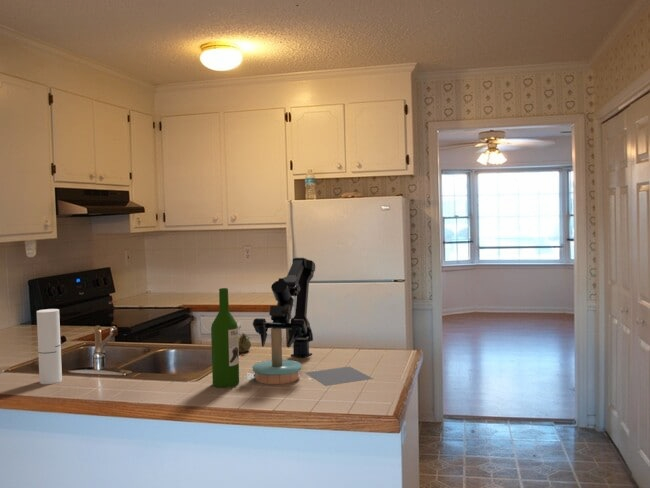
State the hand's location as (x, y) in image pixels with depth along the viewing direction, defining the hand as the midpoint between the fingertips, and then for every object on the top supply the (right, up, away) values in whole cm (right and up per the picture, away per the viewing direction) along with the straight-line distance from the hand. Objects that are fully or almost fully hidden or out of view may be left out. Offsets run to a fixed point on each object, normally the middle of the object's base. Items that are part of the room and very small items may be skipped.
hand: (275, 346), depth 203 cm
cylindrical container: (-79, -13, +3) cm, 80 cm away
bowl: (0, -11, +2) cm, 12 cm away
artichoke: (-17, -10, +44) cm, 48 cm away
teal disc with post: (0, -8, +2) cm, 8 cm away
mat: (+22, -11, +3) cm, 25 cm away
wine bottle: (-16, -12, -4) cm, 21 cm away
